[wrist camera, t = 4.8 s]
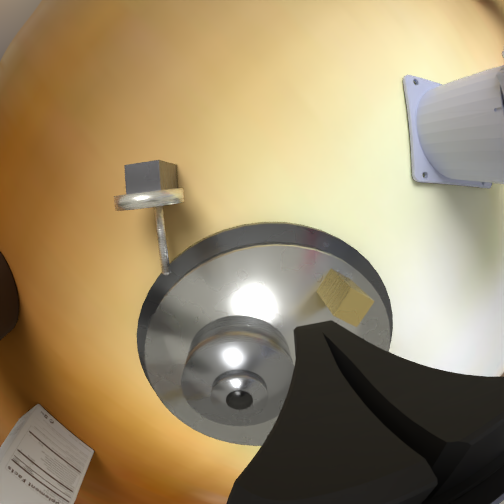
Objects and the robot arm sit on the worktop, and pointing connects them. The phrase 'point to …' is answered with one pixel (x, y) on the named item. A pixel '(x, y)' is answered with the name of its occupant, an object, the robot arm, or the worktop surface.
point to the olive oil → (7, 299)
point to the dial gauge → (152, 196)
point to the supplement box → (41, 461)
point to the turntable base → (243, 237)
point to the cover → (237, 371)
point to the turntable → (256, 314)
